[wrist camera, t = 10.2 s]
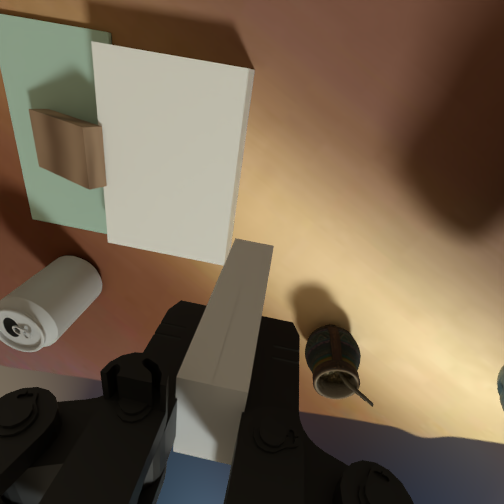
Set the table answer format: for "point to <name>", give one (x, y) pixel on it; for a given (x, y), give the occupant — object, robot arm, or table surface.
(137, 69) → the white flat block
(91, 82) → the mat
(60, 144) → the brown wooden slab
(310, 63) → the table surface
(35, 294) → the can
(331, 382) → the mate gourd
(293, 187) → the table surface
